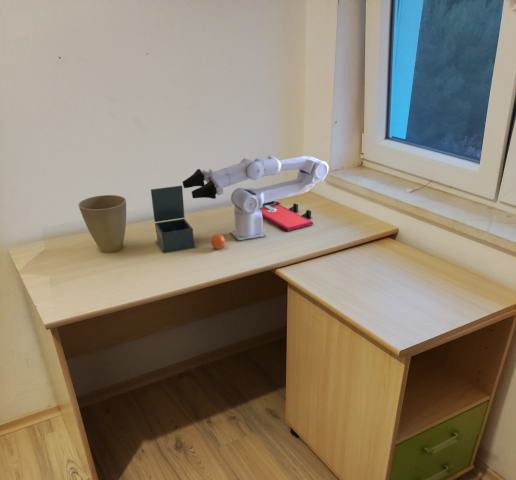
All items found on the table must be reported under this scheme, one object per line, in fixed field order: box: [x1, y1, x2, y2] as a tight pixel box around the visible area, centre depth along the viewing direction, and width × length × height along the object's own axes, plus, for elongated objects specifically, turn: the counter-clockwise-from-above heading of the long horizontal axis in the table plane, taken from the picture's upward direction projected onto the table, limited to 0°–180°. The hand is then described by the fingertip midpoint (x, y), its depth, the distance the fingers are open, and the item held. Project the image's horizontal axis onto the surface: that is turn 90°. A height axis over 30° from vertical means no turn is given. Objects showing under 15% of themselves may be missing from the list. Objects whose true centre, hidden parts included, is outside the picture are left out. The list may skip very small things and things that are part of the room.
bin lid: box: [150, 185, 185, 223], centre depth 169 cm, size 11×10×1 cm
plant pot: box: [77, 194, 127, 253], centre depth 167 cm, size 15×15×16 cm
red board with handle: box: [259, 200, 314, 232], centre depth 194 cm, size 30×3×15 cm
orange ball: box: [210, 233, 226, 250], centre depth 169 cm, size 5×5×5 cm
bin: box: [154, 218, 195, 254], centre depth 171 cm, size 10×10×7 cm
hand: (187, 189), depth 161 cm, fingers open, 7 cm apart
